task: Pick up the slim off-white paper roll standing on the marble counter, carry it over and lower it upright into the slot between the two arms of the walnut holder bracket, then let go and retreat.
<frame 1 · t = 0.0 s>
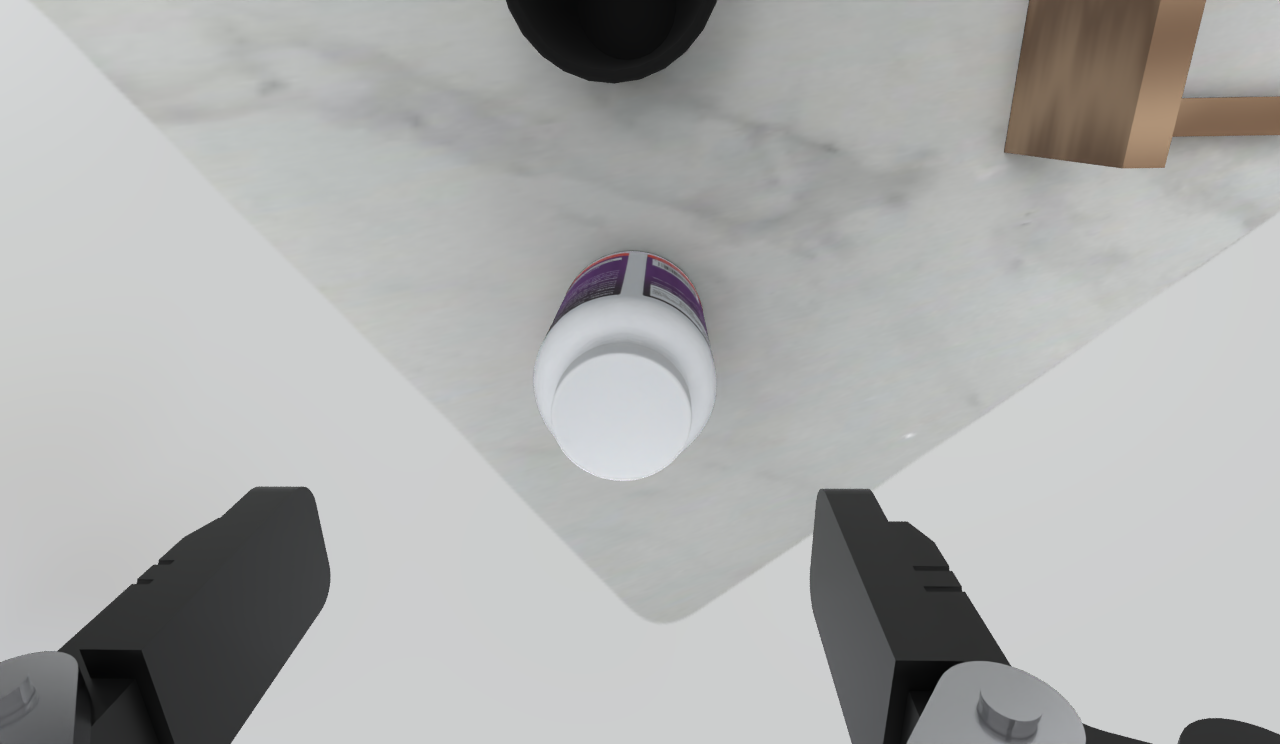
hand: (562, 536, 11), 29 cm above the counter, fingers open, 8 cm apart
holder: (1156, 17, 34), on the counter
cup: (627, 8, 34), on the counter
pill bottle: (633, 314, 40), on the counter
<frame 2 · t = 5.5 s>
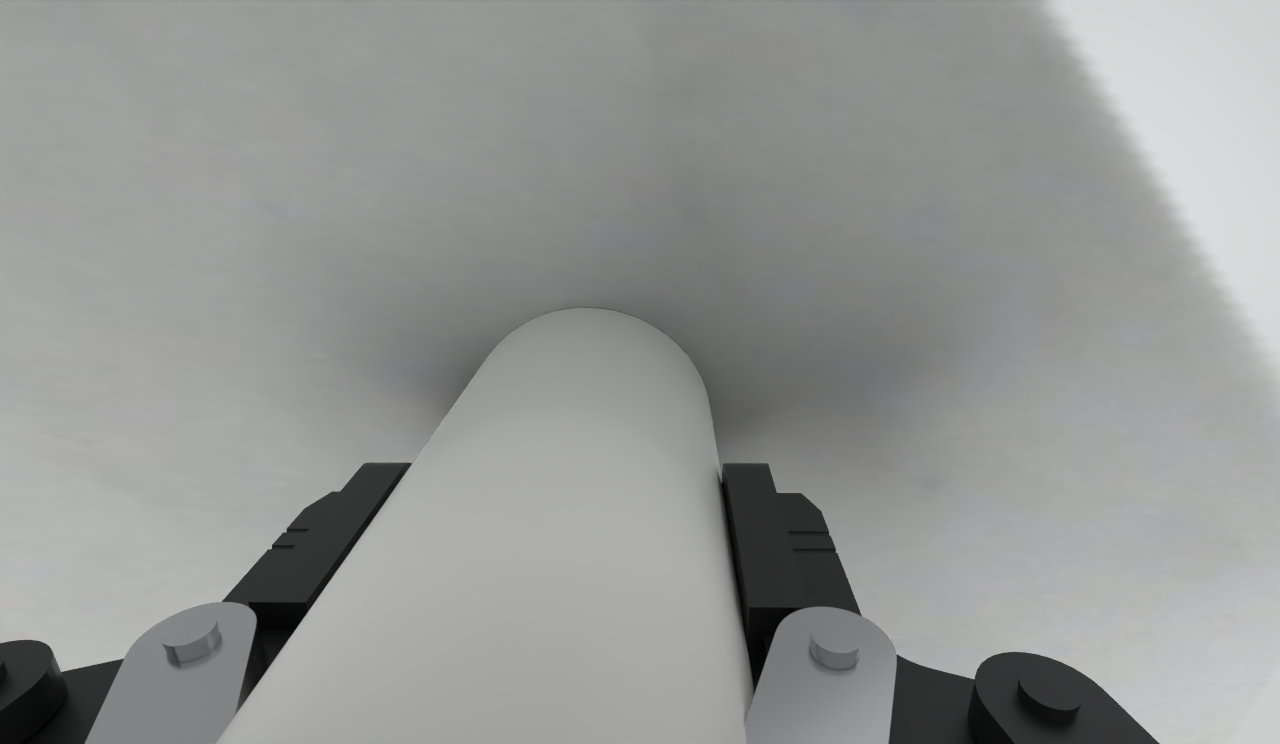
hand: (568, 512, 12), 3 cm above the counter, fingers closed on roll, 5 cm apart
roll: (590, 424, 15), on the counter, touching gripper
when the fingers open (5 cm above the counter, at t = 11.5 s): roll drops 1 cm, on the counter.
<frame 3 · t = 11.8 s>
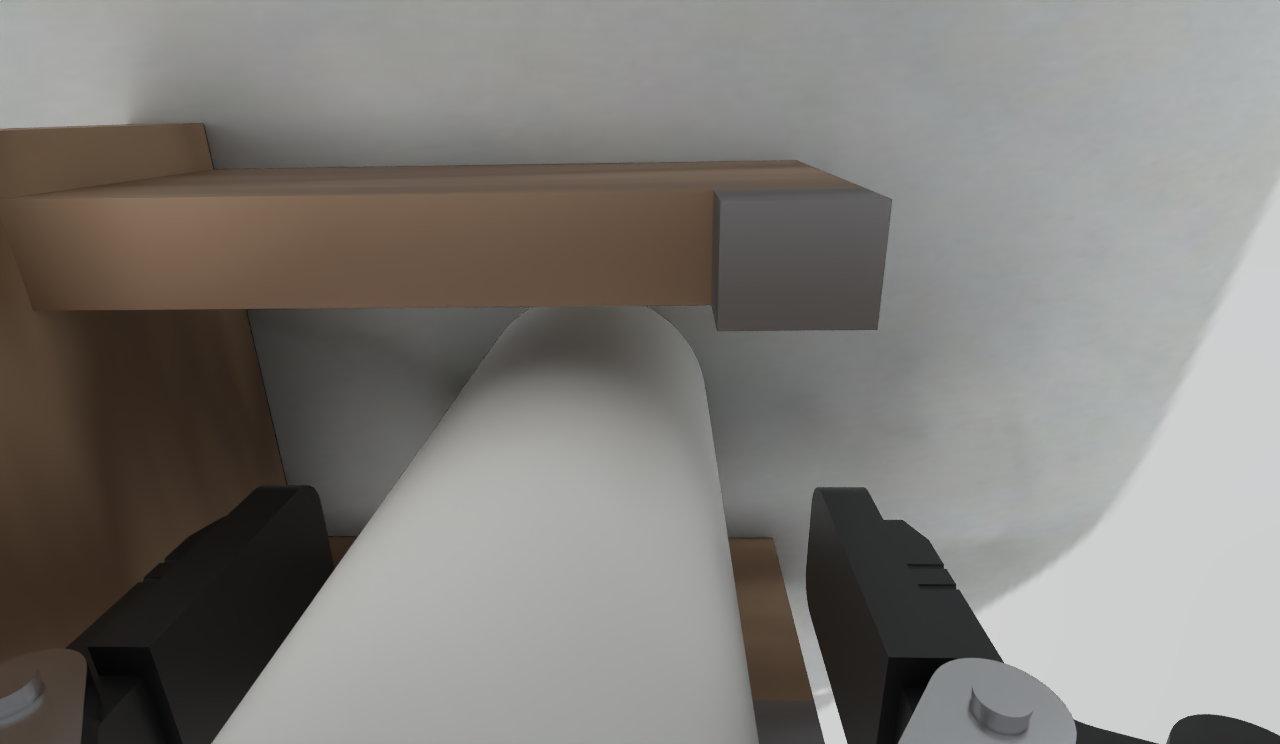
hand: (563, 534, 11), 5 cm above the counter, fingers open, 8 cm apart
holder: (465, 402, 16), on the counter
roll: (593, 402, 16), on the counter
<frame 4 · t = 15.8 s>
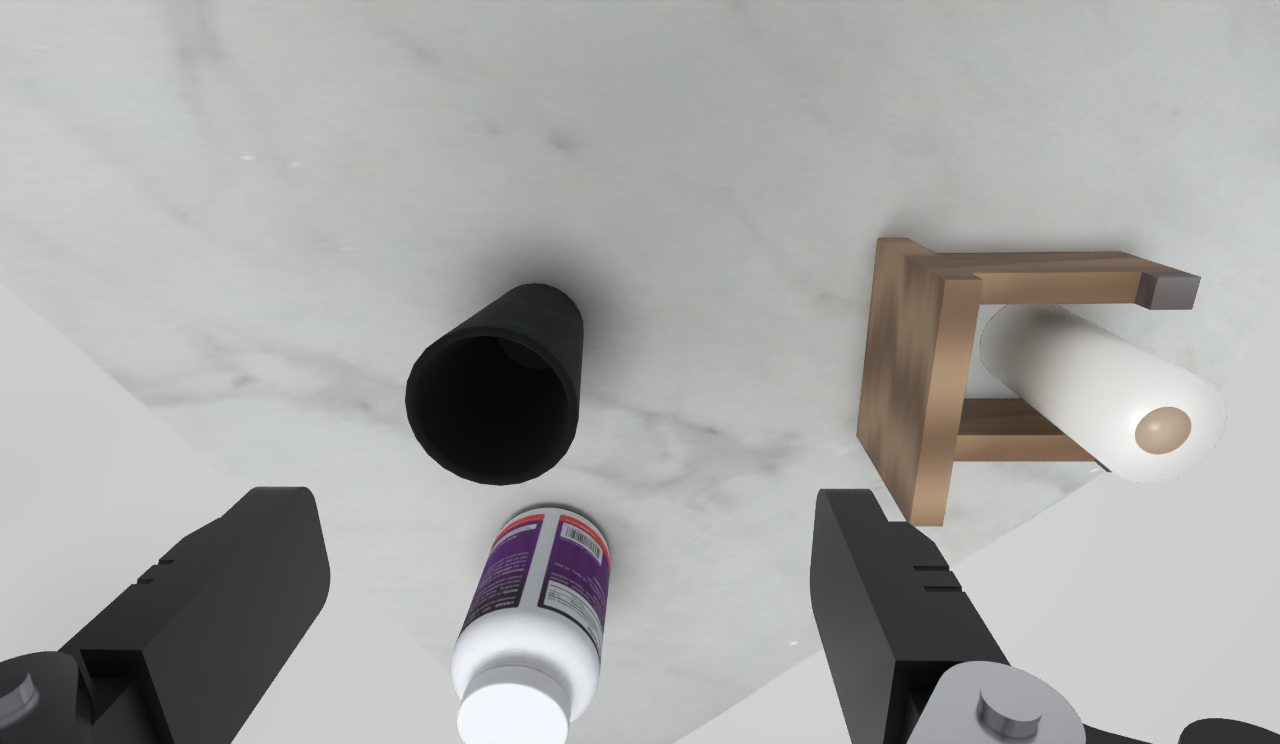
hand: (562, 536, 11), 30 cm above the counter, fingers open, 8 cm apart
holder: (973, 341, 41), on the counter
roll: (1024, 341, 41), on the counter
cup: (538, 327, 42), on the counter
pill bottle: (554, 549, 47), on the counter
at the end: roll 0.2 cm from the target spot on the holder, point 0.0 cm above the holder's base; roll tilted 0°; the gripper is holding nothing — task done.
